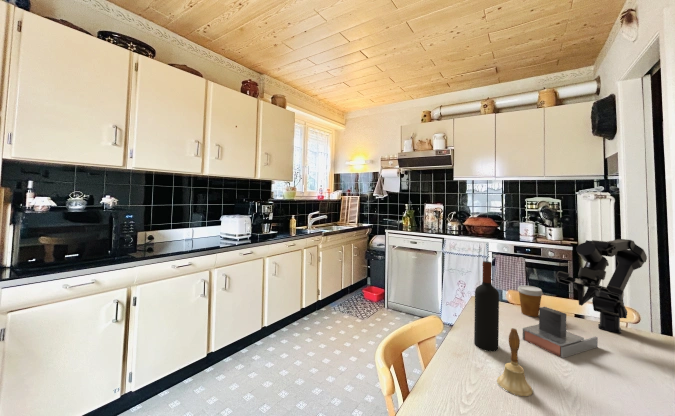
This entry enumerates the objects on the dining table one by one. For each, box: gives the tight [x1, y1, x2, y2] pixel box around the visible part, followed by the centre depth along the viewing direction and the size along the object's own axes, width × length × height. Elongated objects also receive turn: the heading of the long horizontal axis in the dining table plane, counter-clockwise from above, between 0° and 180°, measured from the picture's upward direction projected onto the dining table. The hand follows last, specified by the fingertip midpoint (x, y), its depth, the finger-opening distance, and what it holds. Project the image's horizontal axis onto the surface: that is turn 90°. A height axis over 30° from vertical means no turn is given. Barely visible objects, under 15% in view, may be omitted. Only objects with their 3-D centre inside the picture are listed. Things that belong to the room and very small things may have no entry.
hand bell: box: [496, 328, 534, 397], centre depth 75 cm, size 8×8×16 cm
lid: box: [522, 306, 585, 346], centre depth 97 cm, size 13×13×9 cm
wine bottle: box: [473, 260, 500, 352], centre depth 96 cm, size 8×8×30 cm
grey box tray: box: [522, 329, 599, 359], centre depth 98 cm, size 19×13×4 cm
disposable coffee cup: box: [517, 284, 544, 318], centre depth 124 cm, size 10×10×12 cm
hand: (580, 304), depth 100 cm, fingers closed
